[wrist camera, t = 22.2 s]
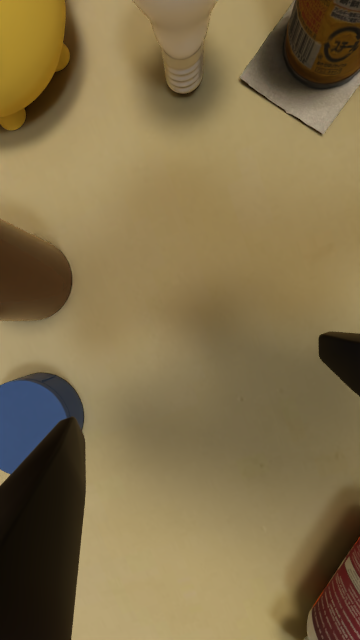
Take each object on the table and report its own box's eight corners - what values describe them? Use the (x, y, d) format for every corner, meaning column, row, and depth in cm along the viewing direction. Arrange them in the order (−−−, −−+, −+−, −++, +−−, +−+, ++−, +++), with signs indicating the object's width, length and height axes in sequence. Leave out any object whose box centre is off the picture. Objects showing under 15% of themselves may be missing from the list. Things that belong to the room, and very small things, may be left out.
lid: (18, 359, 20) (-6, 364, 17) (96, 390, 19) (82, 400, 17) (-9, 438, 20) (-36, 454, 18) (67, 471, 19) (49, 491, 17)
